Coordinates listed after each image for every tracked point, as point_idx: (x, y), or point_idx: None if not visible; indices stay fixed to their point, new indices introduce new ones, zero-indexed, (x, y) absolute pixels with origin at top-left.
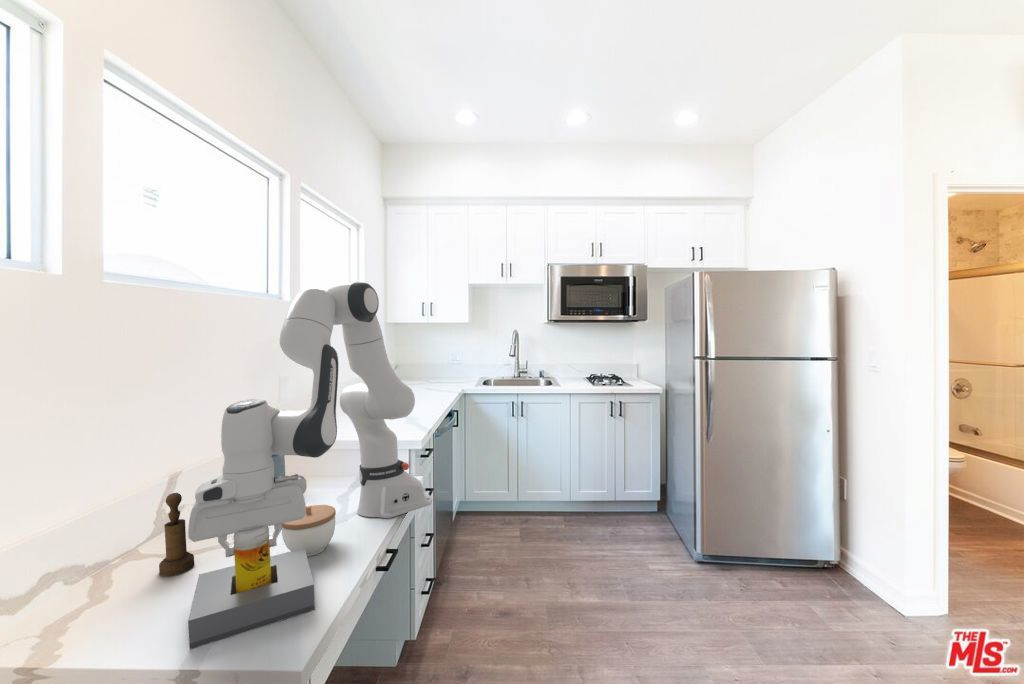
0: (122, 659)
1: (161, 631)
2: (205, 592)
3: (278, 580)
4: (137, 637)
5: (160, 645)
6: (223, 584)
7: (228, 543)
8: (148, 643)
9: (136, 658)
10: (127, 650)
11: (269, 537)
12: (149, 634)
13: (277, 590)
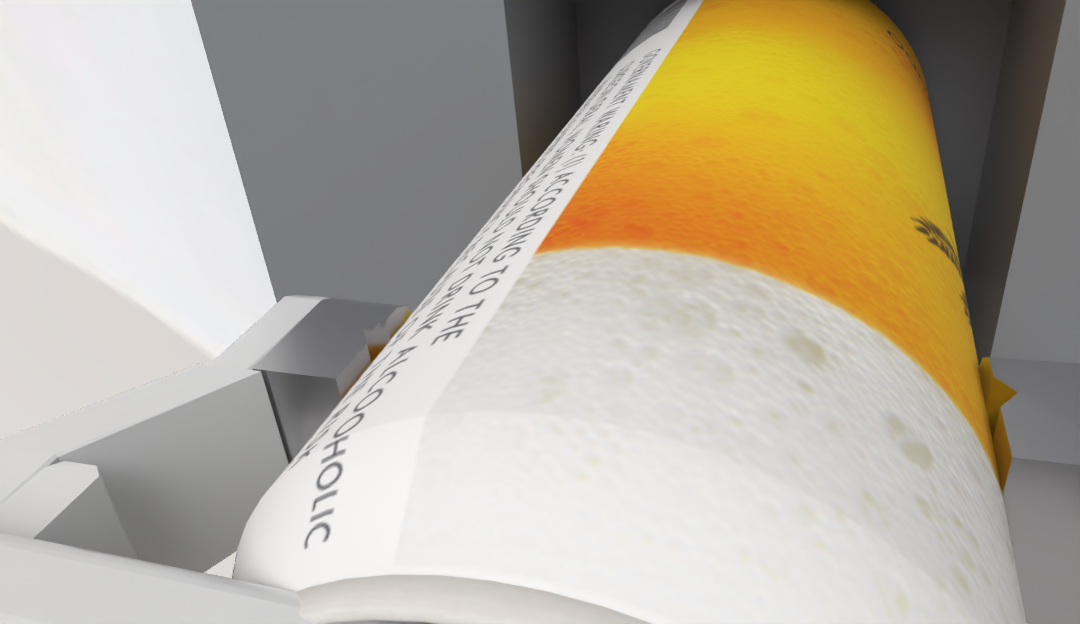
0: (115, 248)
1: (179, 68)
2: (312, 146)
3: (997, 355)
4: (68, 55)
5: (245, 235)
6: (437, 75)
7: (229, 403)
8: (168, 170)
9: (179, 282)
10: (92, 174)
11: (1026, 539)
12: (122, 62)
13: None
